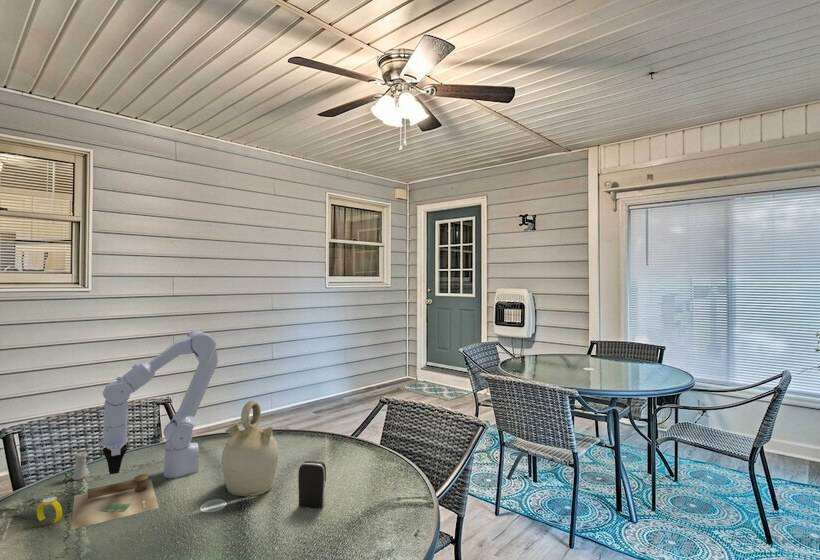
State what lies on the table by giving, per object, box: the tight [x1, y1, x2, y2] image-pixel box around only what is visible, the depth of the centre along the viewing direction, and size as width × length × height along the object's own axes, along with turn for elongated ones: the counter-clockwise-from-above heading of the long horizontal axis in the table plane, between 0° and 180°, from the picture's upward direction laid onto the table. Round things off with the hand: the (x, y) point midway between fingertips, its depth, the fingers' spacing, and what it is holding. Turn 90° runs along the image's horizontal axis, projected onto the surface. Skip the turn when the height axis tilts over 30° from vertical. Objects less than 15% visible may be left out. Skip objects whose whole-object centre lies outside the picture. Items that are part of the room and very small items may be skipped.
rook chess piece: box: [71, 451, 90, 481], centre depth 131 cm, size 4×4×8 cm
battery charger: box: [297, 460, 327, 509], centre depth 118 cm, size 7×4×11 cm, turn 84°
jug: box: [221, 400, 279, 499], centre depth 127 cm, size 15×16×25 cm
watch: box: [36, 496, 63, 524], centre depth 107 cm, size 6×3×6 cm, turn 80°
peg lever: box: [87, 474, 149, 499], centre depth 120 cm, size 14×3×4 cm, turn 125°
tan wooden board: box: [70, 479, 160, 531], centre depth 116 cm, size 18×20×1 cm
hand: (114, 472), depth 125 cm, fingers closed
